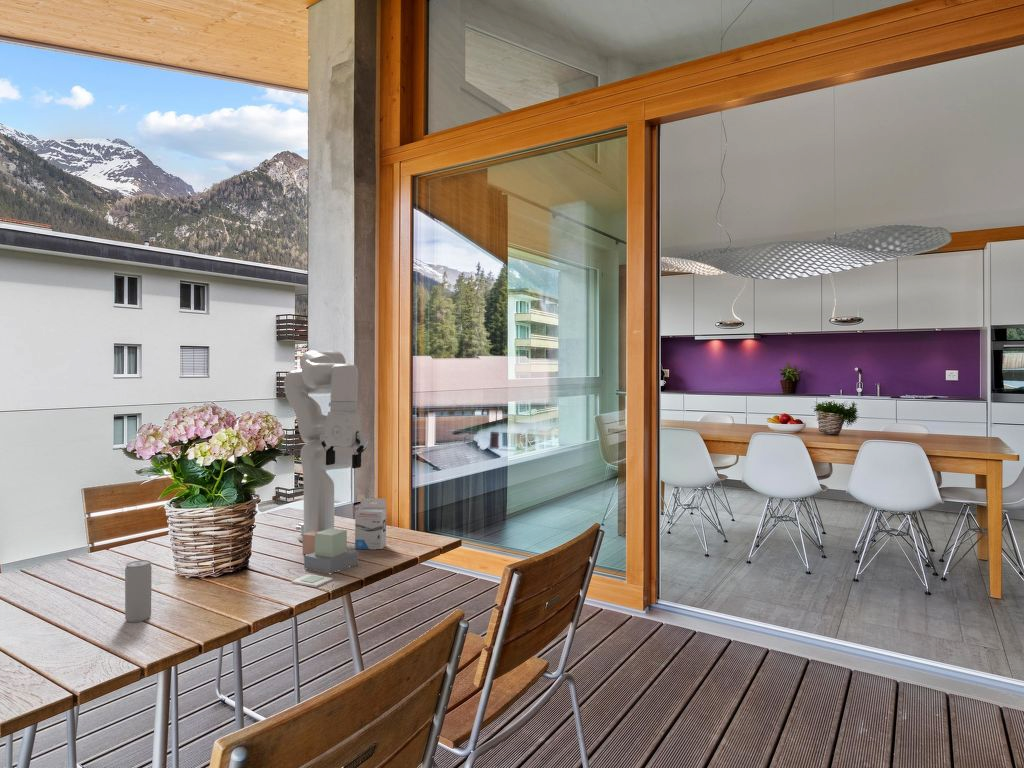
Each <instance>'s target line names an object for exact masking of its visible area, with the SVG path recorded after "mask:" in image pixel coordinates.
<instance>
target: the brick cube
mask: <svg viewBox="0 0 1024 768" xmlns="http://www.w3.org/2000/svg"><path fill="white" fill-rule="evenodd" d="M320 531H323V530H314V531H311V532H308V533H305V534H303V542H302V555H304V554H310V553H314V552H315V533H317V532H320Z"/></svg>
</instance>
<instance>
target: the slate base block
mask: <svg viewBox="0 0 1024 768" xmlns="http://www.w3.org/2000/svg"><path fill="white" fill-rule="evenodd" d="M358 554H359V553H358V551H357V550H356V551H355V550H351V549H347V552H345V553H343V554H340V555H338V556H335V557H333V558H331V557H324V556H318V555H315V552H314V553H310V554H307V555H304V554H303V555H304V556H303V559H304V561H303V565H304V567H303V569H304V568H307V569H306V570H309V569H311V570H310V571H313V570H316V571H315V572H318V571H320V572H319V573H322V572H325V573H324V574H326V573H333V572H335V571H338V570H341V569H344V568H347V567H349V566H352V565H355V564H359V561H358V560H359V557H358ZM355 566H356V565H355ZM352 567H353V566H352ZM349 568H350V567H349ZM347 569H348V568H347ZM344 570H345V569H344ZM341 571H342V570H341ZM338 572H339V571H338ZM333 574H334V573H333Z"/></svg>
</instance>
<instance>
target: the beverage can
mask: <svg viewBox="0 0 1024 768" xmlns="http://www.w3.org/2000/svg"><path fill="white" fill-rule="evenodd" d="M124 601H125V602H124V603H125V604H124V610H125V611H124V614H125V615H124V616H125V617H124V618H125V620H126V621H127V622H128V623H133V624H135V623H141V622H144V621H146V620H148V619H150V617H151V616H152V563H151V560H147V559H146V560H145V559H144V560H143V559H141V560H134V561H130V562H128V563H126V564H125V568H124Z"/></svg>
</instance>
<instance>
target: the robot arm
mask: <svg viewBox="0 0 1024 768" xmlns="http://www.w3.org/2000/svg"><path fill="white" fill-rule="evenodd" d="M299 367H300V368H301V369H295V370H291V371H289V372H287V373H286V374H285V377H284V380H283V385H284V386H283V387H284V393H285V396H286V399H287V401H288V404H289V405H290V407H291V408H292V410H293V412H294V414H295V418H296V423H297V426H298V427H297V428H298V433H299V434H300V435H299V436H300V439H301V440H302V441H303V443H305V444H303V446H302V448H301V449H300V452H299V453H300V455H299V456H300V461H301V468H302V477H303V478H302V480H303V522H299V523H298V524H297V525H296V527H295V530H296V531H300V532H301V533H300V534H299V535H298V541H300V542H302V543H303V534H305V533H308V532H311V531H314V530H326V529H329V528H331V529H335V483H334V480H333V479H332V477H331V476H330V475H329V474H328V473H327V471H331V470H342V469H348V468H352V469H358V468H361V466H362V454H364V451H366V449H367V446H368V444H369V438H367V437H366V436H365V435H364V434H362V426H361V418H360V414H359V412H358V394H359V392H358V389H359V388H358V386H359V385H358V383H359V374H358V373H359V372H358V371H359V369H358V367H357V366H356V365H355V364H350V363H346V358H345V356H344V355H343V353H341V352H340V351H337V350H309V351H306V352H305V353H303V354H302V355H301V357H300V359H299ZM308 394H309V395H311V394H313V395H314V394H316V395H317V394H318V395H319V394H326V395H327V394H330V402H329V403H328V407H330V411H327V415H324V414H323V413H322V408H321V405H320V404H319V403H318V402H317V401H316V400H315V399H314V397H313V398H312V397H311V396H309V395H308Z"/></svg>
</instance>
